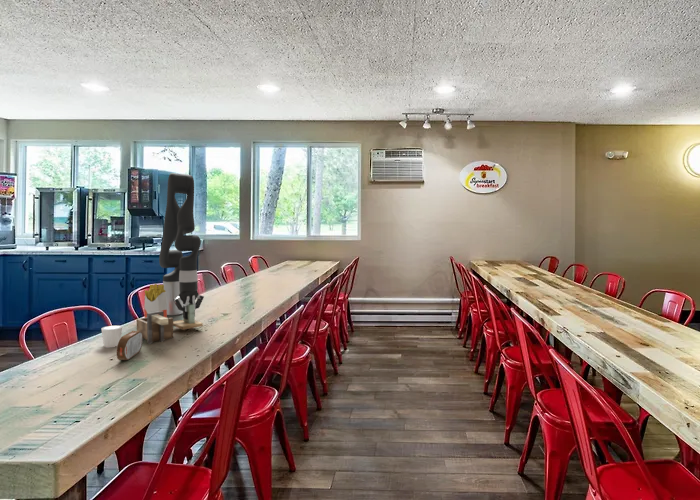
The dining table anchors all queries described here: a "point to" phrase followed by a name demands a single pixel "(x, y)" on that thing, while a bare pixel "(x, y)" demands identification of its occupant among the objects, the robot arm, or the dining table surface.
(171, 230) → the robot arm
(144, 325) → the toolbox
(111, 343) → the white cup
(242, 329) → the dining table surface
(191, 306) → the lid
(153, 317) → the key
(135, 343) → the tin
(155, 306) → the french fries container
